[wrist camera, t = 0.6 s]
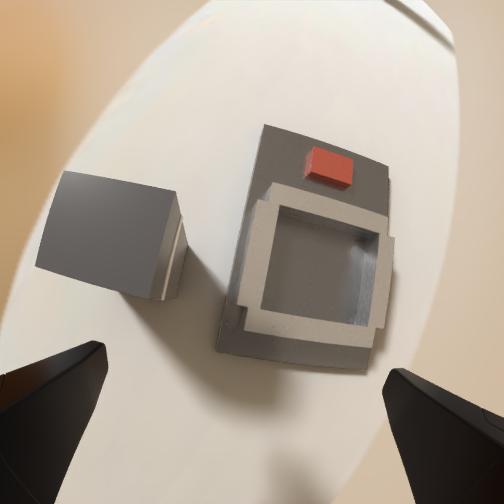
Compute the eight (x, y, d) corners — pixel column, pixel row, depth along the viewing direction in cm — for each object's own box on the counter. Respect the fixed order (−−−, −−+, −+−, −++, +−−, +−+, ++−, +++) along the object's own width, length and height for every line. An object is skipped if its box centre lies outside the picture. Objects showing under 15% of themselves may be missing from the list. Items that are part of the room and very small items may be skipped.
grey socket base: (360, 367, 22) (379, 374, 19) (215, 349, 20) (218, 357, 17) (382, 170, 25) (400, 157, 22) (262, 130, 24) (269, 110, 21)
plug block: (176, 299, 20) (149, 301, 10) (111, 282, 20) (33, 267, 9) (188, 244, 21) (177, 190, 10) (124, 229, 20) (63, 169, 10)
